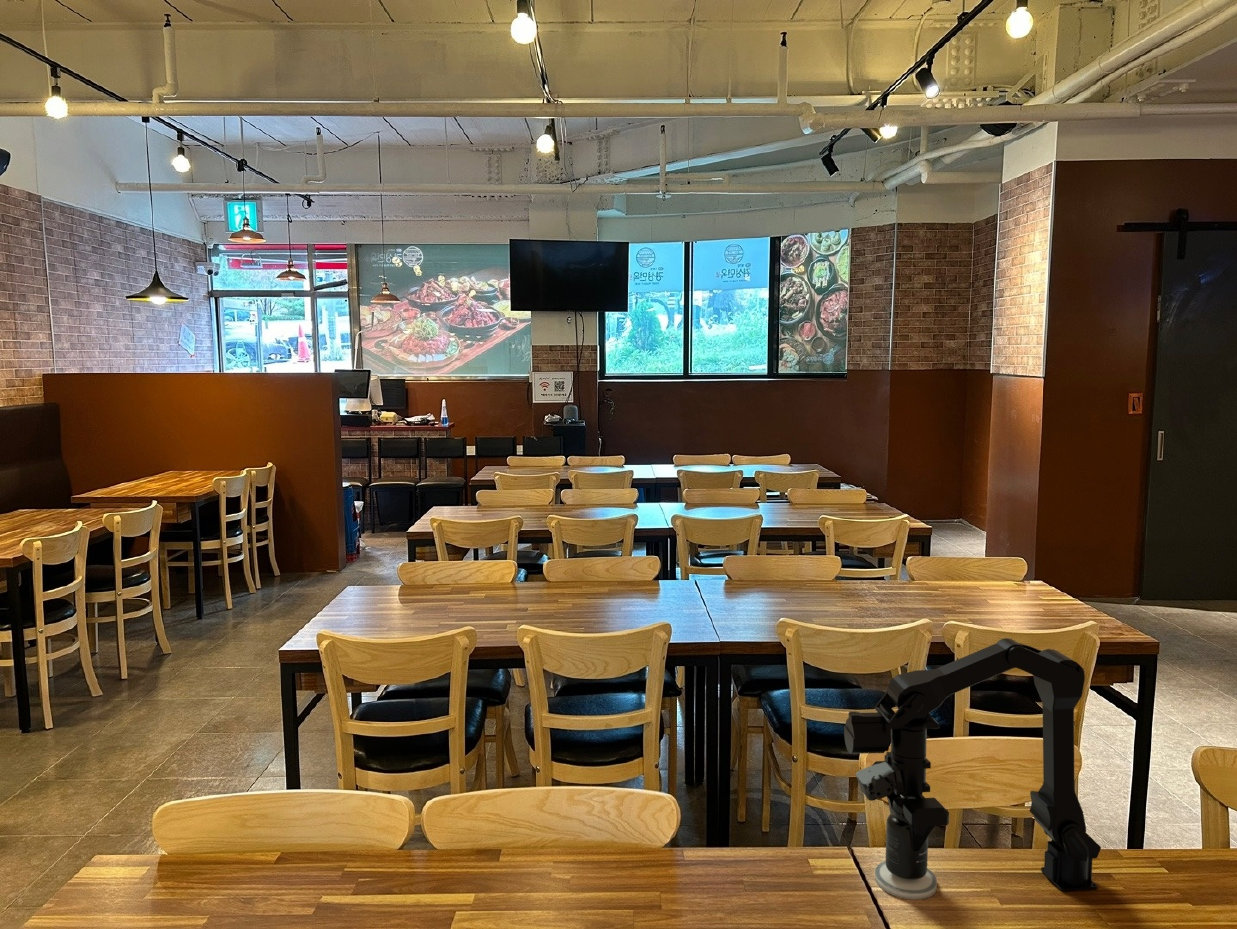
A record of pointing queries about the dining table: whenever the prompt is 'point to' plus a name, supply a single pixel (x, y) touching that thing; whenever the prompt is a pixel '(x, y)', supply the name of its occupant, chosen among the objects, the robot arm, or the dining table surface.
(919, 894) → the dish
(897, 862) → the supplement bottle
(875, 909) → the dining table surface
